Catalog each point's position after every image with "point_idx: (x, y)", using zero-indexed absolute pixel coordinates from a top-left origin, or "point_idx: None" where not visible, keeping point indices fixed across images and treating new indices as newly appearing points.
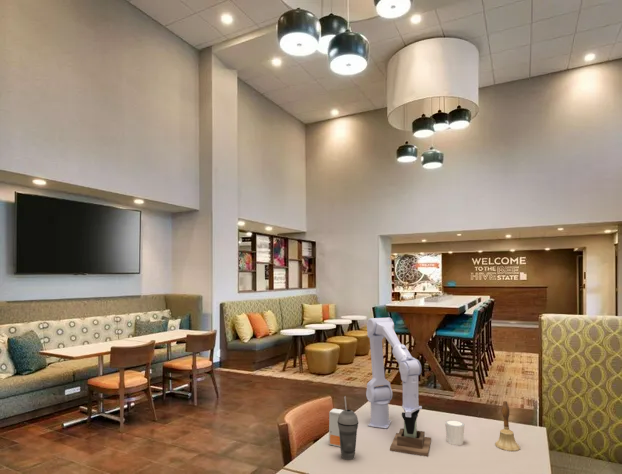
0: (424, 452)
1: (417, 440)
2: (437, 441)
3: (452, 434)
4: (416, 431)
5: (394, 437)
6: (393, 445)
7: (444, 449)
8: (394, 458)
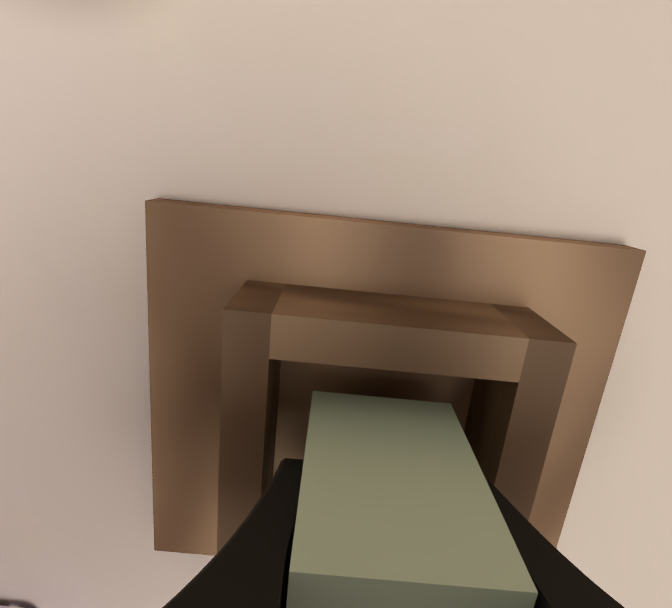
0: (621, 285)
1: (557, 395)
2: (157, 121)
3: None
4: (328, 427)
5: None
6: None
7: (388, 40)
8: None
